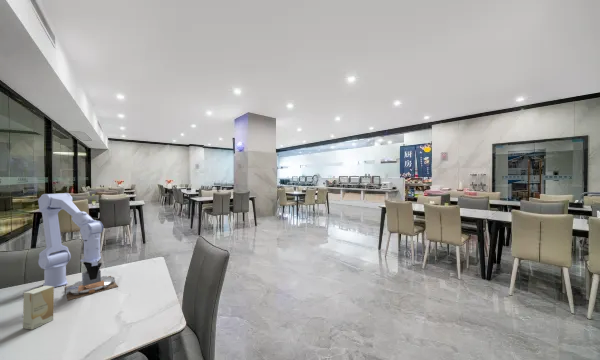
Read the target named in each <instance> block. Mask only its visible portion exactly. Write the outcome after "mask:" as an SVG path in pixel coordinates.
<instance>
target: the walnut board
mask: <svg viewBox="0 0 600 360" xmlns="http://www.w3.org/2000/svg"><path fill="white" fill-rule="evenodd" d="M107 277H112V275H108V276H107ZM72 285H73V284H71V285H67V286H66V285H65V286H64V288H65V292H66V291H67V290H66V288H67V287H68V286H72ZM115 288H119V286H118V284H117V283H116V282H115V283H113V284H111V285H109V287H107V288H105V289H104V288H103V289H100V290H97V291H95V292H92V293H83V294H79V295H74V294H66V299H67V301H72V300H74V299H78V298H81V297H82V298H83V297H85V296H90V295H94V294H96V293H97V294H98V293H101V292H103V291H108V290H111V289H115Z"/></svg>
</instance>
